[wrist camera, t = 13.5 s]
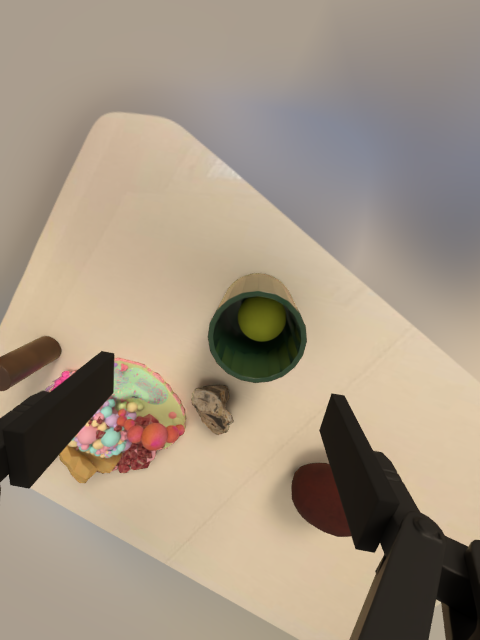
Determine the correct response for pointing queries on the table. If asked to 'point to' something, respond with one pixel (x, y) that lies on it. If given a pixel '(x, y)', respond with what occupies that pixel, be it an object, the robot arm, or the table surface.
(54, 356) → the post
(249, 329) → the ball
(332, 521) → the dark brown round lump
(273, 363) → the tube
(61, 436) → the robot arm
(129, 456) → the candy landscape model
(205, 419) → the rock
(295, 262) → the table surface
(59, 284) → the table surface
